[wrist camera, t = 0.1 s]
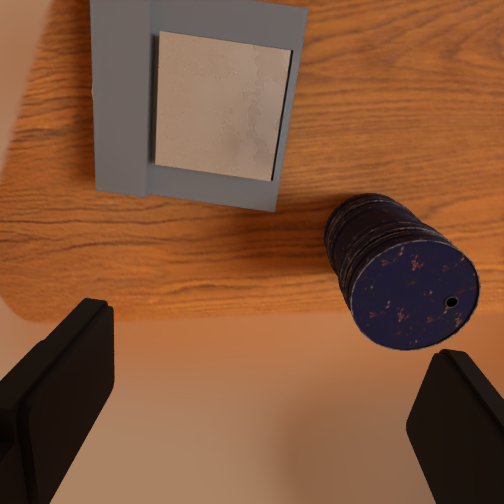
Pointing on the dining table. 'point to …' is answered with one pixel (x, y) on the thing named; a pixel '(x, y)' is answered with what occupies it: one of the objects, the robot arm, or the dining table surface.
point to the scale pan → (219, 105)
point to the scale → (146, 92)
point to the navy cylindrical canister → (399, 274)
